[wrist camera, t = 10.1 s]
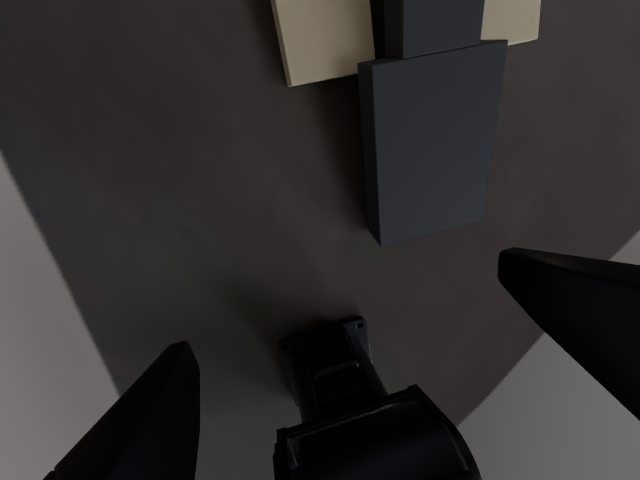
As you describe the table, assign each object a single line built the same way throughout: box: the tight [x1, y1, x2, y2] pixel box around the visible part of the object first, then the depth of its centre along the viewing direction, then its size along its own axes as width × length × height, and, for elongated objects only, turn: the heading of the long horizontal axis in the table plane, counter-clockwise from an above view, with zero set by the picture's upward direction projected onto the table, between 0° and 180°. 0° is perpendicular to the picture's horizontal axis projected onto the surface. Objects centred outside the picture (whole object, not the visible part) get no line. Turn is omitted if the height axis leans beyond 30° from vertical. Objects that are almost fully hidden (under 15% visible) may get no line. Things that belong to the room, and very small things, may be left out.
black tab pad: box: [357, 0, 508, 246], centre depth 18 cm, size 14×7×2 cm, turn 10°
